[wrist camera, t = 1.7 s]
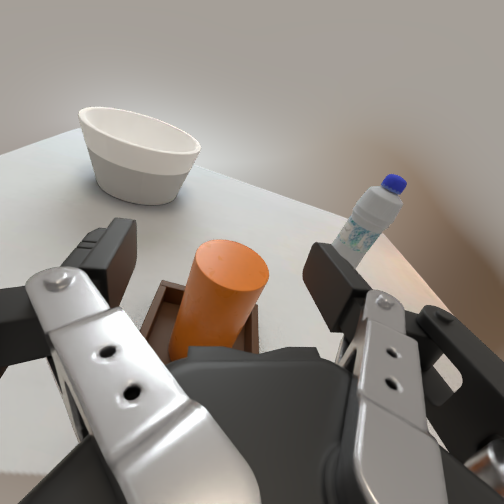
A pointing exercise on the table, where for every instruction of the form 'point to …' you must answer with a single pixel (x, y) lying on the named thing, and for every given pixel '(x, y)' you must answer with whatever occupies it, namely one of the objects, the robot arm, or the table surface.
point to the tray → (164, 318)
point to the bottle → (370, 219)
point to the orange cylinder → (217, 296)
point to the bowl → (137, 154)
